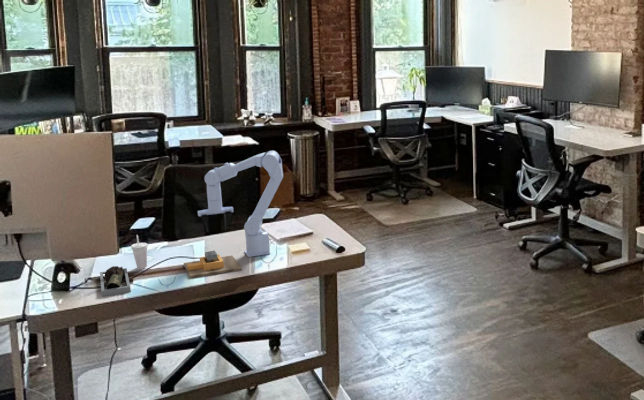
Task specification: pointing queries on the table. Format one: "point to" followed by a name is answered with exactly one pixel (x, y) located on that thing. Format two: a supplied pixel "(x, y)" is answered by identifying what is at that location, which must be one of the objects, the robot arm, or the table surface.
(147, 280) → the table surface
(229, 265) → the base plate
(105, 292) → the pipe rest
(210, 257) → the grey block
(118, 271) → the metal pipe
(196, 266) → the bracket collar
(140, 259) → the smoothie
